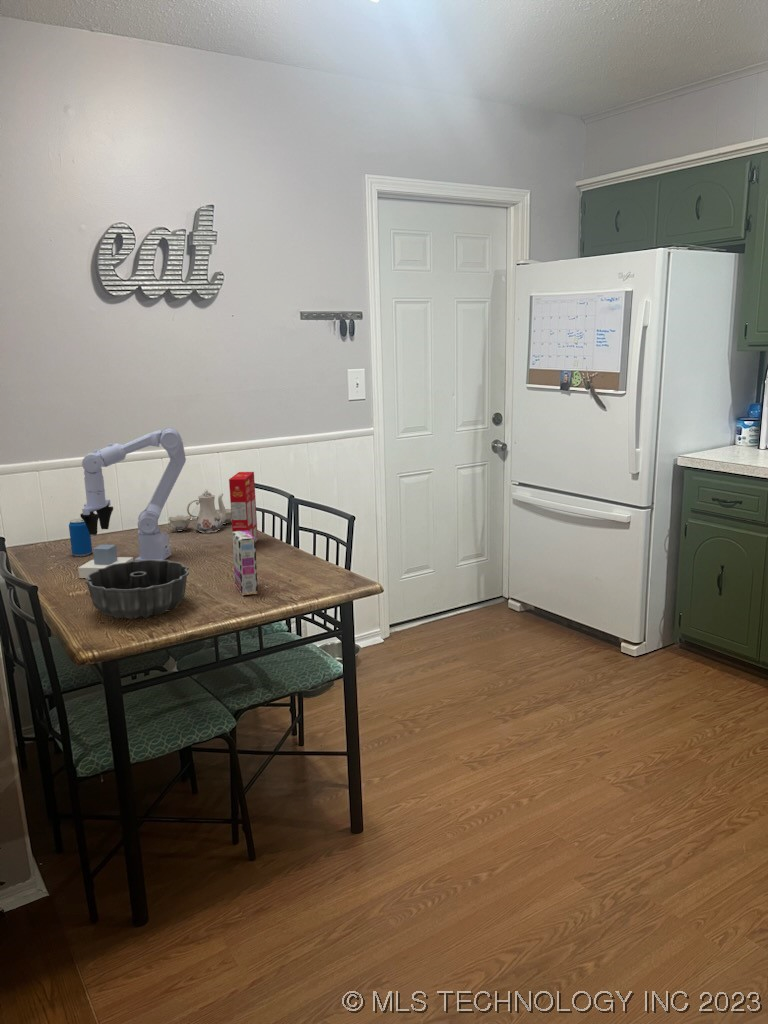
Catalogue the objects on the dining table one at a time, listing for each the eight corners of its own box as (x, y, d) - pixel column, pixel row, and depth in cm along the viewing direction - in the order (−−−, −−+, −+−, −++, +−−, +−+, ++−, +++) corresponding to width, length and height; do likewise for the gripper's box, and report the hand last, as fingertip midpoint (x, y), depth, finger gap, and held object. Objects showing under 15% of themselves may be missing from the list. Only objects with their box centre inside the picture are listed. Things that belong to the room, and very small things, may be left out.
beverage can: (96, 552, 259) (92, 518, 257) (86, 557, 253) (83, 522, 250) (78, 551, 260) (74, 518, 257) (68, 557, 254) (64, 522, 251)
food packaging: (243, 540, 271) (239, 471, 265) (257, 540, 271) (253, 471, 265) (233, 551, 257) (228, 479, 251) (249, 551, 256) (244, 479, 251)
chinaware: (229, 523, 304) (224, 483, 301) (249, 526, 291) (244, 484, 289) (163, 536, 286) (157, 493, 284) (182, 539, 273) (176, 494, 271)
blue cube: (117, 560, 236) (116, 544, 235) (109, 564, 231) (108, 549, 230) (102, 559, 237) (101, 544, 236) (94, 564, 232) (92, 548, 231)
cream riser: (134, 569, 240) (133, 557, 239) (116, 581, 228) (115, 568, 227) (98, 568, 241) (97, 556, 241) (79, 580, 230) (78, 567, 229)
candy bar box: (259, 594, 212) (256, 538, 208) (241, 596, 210) (237, 540, 207) (251, 583, 222) (248, 529, 219) (234, 585, 220) (231, 531, 217)
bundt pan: (211, 606, 204) (208, 570, 201) (121, 634, 185) (118, 595, 182) (158, 586, 221) (155, 554, 219) (71, 610, 202) (67, 575, 200)
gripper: (94, 486, 249) (98, 526, 251) (71, 495, 234) (76, 537, 237) (114, 486, 248) (118, 526, 251) (92, 495, 234) (97, 537, 237)
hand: (99, 531), depth 244 cm, fingers open, 7 cm apart
